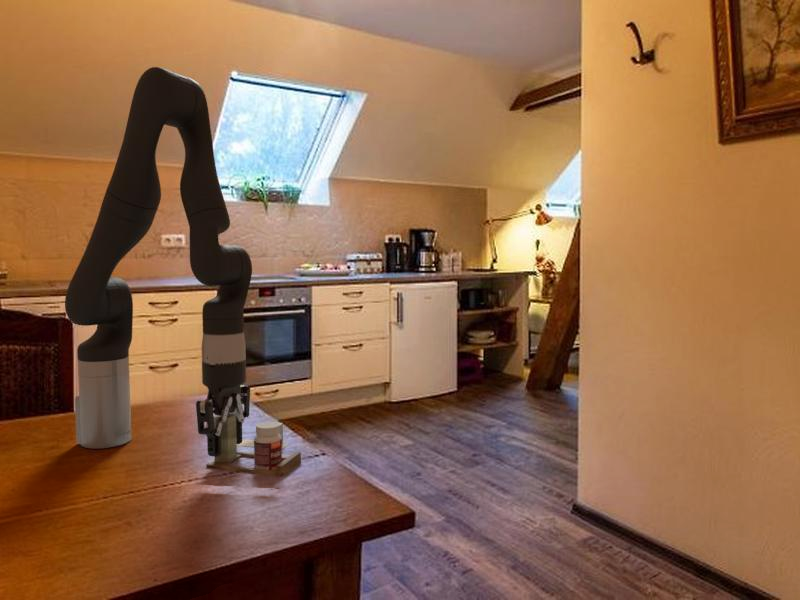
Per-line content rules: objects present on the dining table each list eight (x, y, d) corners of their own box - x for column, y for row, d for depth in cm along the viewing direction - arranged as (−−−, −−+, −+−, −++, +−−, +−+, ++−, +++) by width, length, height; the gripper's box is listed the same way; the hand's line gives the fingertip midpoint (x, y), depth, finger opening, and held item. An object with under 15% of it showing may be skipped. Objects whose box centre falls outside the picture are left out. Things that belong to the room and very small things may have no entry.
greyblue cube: (256, 448, 116) (256, 428, 115) (263, 441, 120) (263, 422, 119) (276, 449, 115) (276, 428, 115) (283, 442, 119) (282, 422, 119)
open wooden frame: (206, 471, 106) (205, 420, 105) (229, 457, 113) (229, 409, 112) (281, 480, 102) (281, 428, 101) (300, 465, 109) (300, 416, 108)
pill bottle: (275, 477, 104) (275, 429, 103) (249, 475, 105) (249, 428, 104) (286, 467, 108) (285, 422, 108) (261, 465, 109) (260, 420, 109)
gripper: (227, 350, 115) (229, 435, 117) (180, 363, 101) (182, 460, 103) (262, 352, 113) (263, 439, 114) (219, 366, 99) (221, 465, 101)
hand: (225, 449), depth 109 cm, fingers open, 6 cm apart
